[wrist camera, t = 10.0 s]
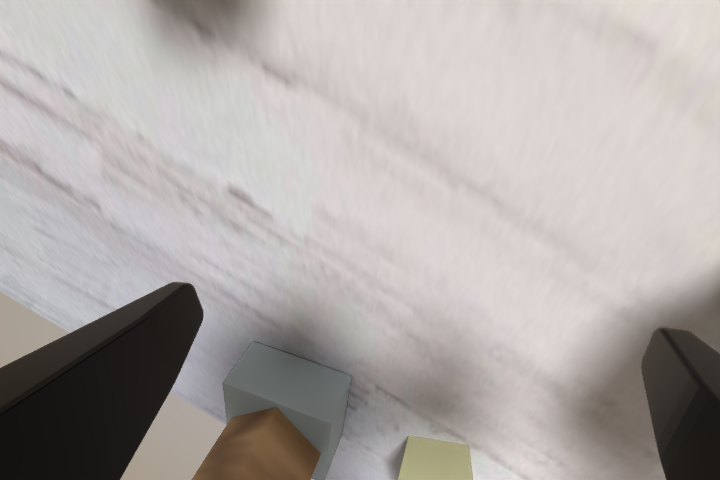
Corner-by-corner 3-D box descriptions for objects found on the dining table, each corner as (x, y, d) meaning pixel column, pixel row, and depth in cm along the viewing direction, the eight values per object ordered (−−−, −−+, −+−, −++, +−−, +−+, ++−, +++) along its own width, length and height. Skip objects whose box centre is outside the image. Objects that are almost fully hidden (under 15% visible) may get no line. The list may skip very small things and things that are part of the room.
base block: (351, 376, 30) (332, 424, 27) (341, 435, 35) (323, 483, 32) (252, 340, 32) (222, 382, 29) (254, 402, 36) (229, 444, 33)
